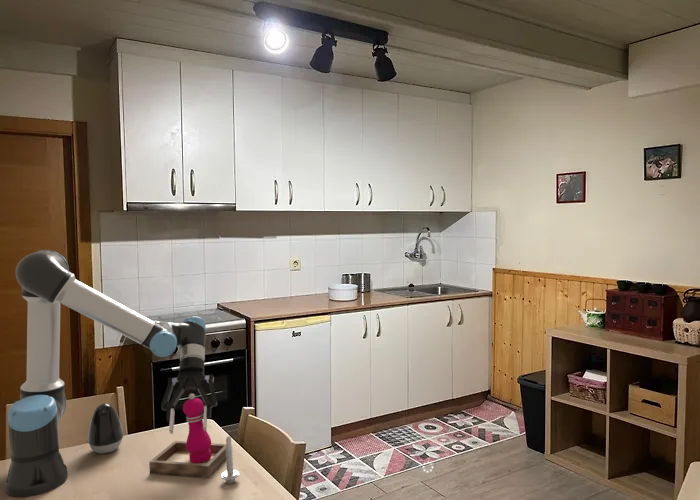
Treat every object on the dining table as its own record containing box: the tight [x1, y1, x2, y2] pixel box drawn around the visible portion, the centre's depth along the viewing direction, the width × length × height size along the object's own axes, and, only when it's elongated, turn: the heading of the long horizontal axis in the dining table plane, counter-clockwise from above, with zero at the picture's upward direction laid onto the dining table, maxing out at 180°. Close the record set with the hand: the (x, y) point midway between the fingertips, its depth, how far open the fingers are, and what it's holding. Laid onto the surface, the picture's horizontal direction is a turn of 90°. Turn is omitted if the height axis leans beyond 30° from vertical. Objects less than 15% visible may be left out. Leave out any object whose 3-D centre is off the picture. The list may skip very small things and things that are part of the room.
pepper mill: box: [182, 393, 212, 463], centre depth 160 cm, size 7×7×20 cm
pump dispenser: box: [87, 402, 124, 455], centre depth 170 cm, size 10×10×15 cm
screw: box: [220, 436, 240, 485], centre depth 148 cm, size 13×5×5 cm
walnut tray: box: [148, 440, 227, 479], centre depth 160 cm, size 18×14×4 cm
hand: (188, 430), depth 156 cm, fingers open, 9 cm apart
